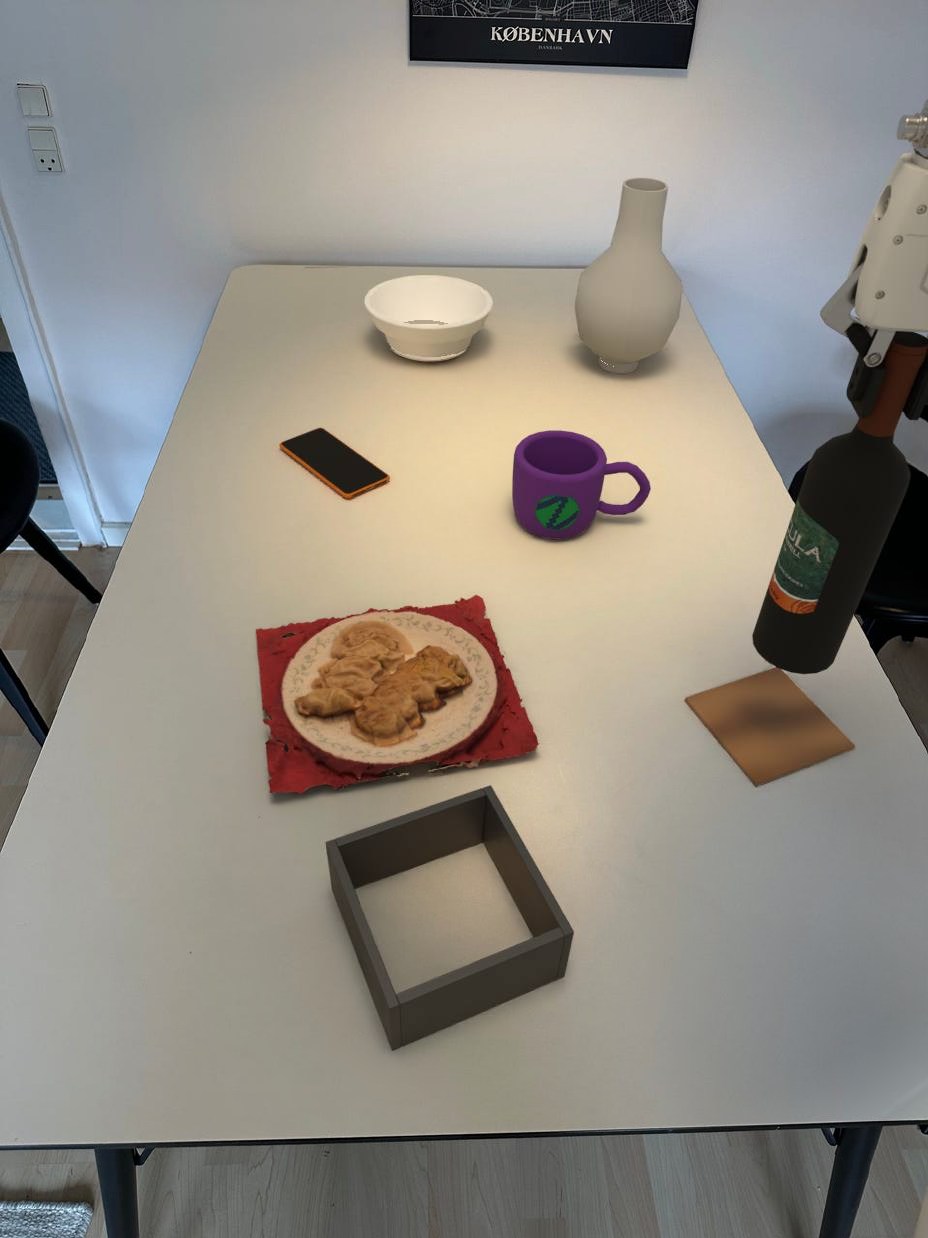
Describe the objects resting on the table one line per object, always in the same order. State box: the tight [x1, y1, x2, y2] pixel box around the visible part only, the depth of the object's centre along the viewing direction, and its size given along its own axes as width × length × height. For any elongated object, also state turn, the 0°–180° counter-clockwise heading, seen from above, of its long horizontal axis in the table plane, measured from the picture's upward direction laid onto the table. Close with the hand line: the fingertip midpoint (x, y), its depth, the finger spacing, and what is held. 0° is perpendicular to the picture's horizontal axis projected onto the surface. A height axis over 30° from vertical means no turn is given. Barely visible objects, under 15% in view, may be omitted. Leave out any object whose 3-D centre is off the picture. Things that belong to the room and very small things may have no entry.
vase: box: [574, 177, 684, 374], centre depth 140 cm, size 17×16×28 cm
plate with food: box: [255, 594, 541, 794], centre depth 92 cm, size 24×26×3 cm
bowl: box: [363, 274, 494, 362], centre depth 150 cm, size 21×21×8 cm
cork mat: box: [684, 666, 856, 787], centre depth 91 cm, size 12×12×1 cm
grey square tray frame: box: [325, 784, 575, 1051], centre depth 72 cm, size 15×15×7 cm
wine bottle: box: [751, 331, 928, 675], centre depth 74 cm, size 8×8×30 cm
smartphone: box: [278, 427, 391, 499], centre depth 125 cm, size 8×17×1 cm, turn 41°
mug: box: [511, 429, 652, 540], centre depth 113 cm, size 17×11×10 cm, turn 86°
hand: (883, 407), depth 67 cm, fingers closed on wine bottle, 2 cm apart
